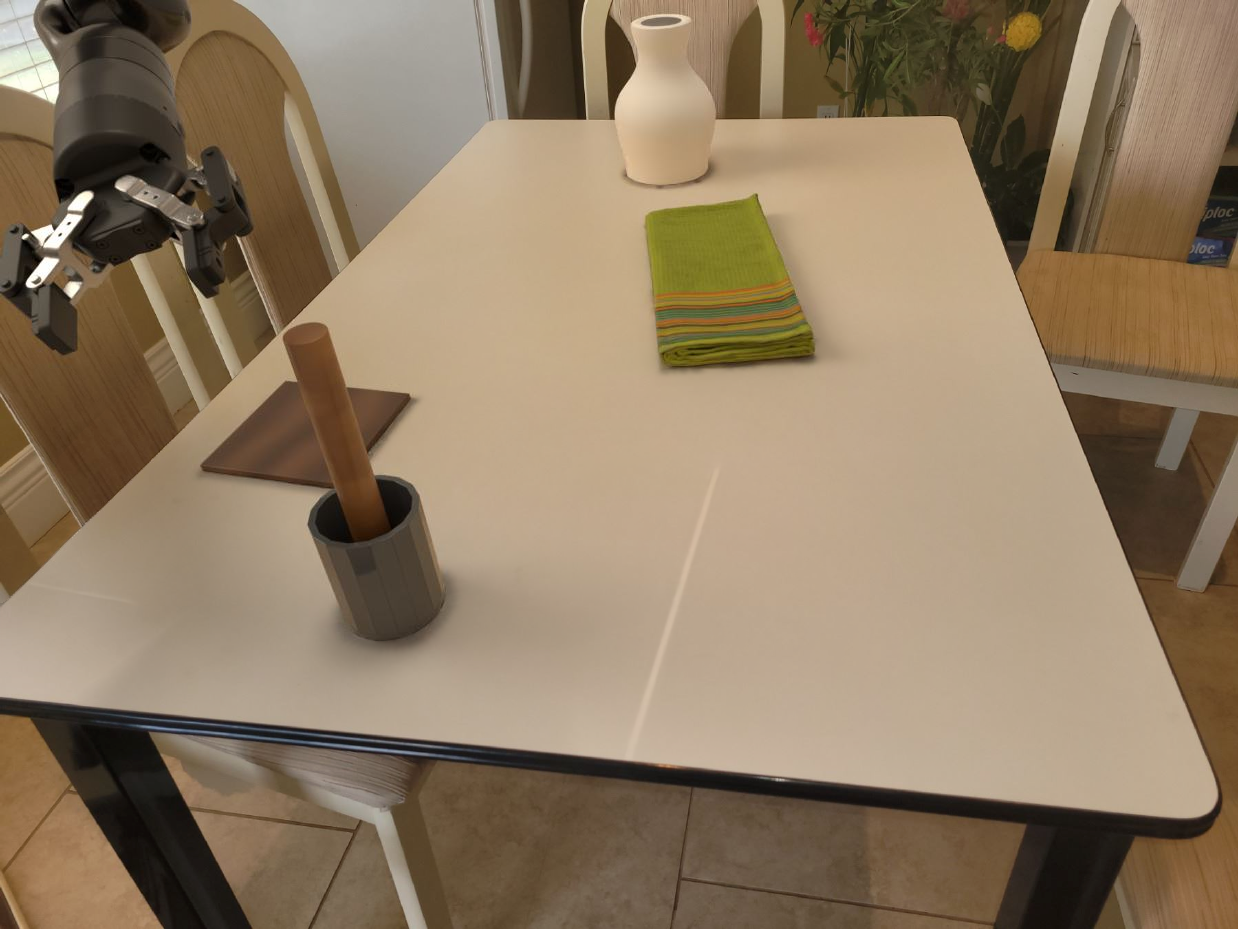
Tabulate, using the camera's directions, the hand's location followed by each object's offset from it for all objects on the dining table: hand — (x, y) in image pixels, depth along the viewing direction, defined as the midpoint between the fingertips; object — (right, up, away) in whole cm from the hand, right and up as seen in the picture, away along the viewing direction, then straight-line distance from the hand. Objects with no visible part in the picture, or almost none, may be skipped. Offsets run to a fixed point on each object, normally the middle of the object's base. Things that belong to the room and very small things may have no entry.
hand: (131, 315), depth 49 cm
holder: (+10, -18, +16) cm, 27 cm away
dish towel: (+38, +12, +52) cm, 66 cm away
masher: (+10, -18, +16) cm, 26 cm away
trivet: (-2, -5, +34) cm, 35 cm away
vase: (+34, +35, +81) cm, 95 cm away
